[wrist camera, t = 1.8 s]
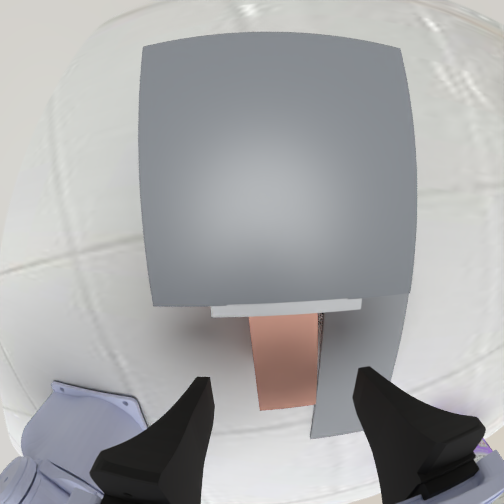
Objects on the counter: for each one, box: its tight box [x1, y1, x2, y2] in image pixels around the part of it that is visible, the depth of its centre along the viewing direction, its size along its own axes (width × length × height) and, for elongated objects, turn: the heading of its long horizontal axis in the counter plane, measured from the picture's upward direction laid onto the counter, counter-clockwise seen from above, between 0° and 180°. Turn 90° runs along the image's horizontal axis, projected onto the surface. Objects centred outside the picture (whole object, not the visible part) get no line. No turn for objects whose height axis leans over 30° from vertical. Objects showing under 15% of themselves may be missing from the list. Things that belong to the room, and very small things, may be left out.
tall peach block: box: [249, 313, 318, 411], centre depth 14 cm, size 3×11×5 cm, turn 5°
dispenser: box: [138, 32, 417, 317], centre depth 12 cm, size 10×10×6 cm
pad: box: [310, 293, 409, 439], centre depth 18 cm, size 6×14×1 cm, turn 2°
